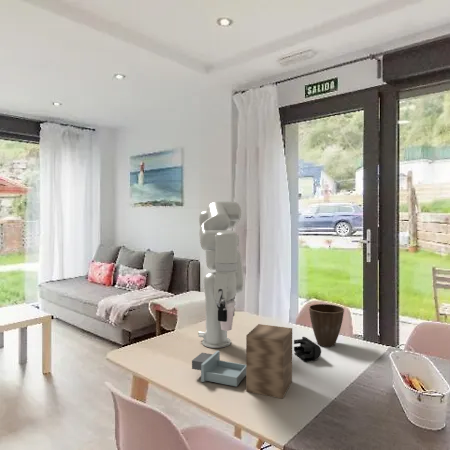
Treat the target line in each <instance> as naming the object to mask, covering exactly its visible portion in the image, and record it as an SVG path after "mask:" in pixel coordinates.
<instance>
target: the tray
mask: <svg viewBox="0 0 450 450" xmlns="http://www.w3.org/2000/svg"><path fill="white" fill-rule="evenodd" d="M220 353H221V352H220V350H216V351H215V352H213V353H207V352H201V353H199V354H198V355H197V356H195V358H193V359H192V360H191V369H192V370H197V371H200V382H202V383H205V382H206V381H207V382H212V383H217V384H221V385H227V386H231V387H238V386H239V385H240V383H241V382H242V381H243V379H245V377H246V364H243V363H238V362H233V361H225V360H220V359H221V358H220V357H221V356H220V355H221V354H220Z"/></svg>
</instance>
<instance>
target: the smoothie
mask: <svg viewBox="0 0 450 450" xmlns="http://www.w3.org/2000/svg"><path fill="white" fill-rule="evenodd" d="M222 301H224V300H222ZM222 304H223V306H224V303H222ZM235 307H236V301H235V300H234V301H233V300H229V301H227V305H226V310H227V321H226V322H223V321H220V323H221V330H224V331H227V332H228V331H231V330H232V329H233V323H234V322H233V320H234V316H235ZM233 315H234V316H233Z"/></svg>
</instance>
